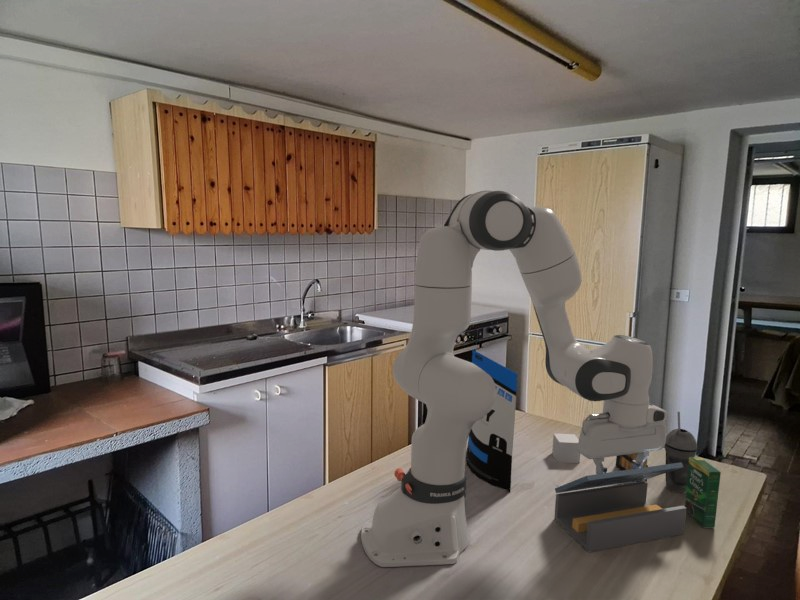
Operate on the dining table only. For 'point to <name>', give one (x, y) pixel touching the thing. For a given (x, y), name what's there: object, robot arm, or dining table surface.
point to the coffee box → (702, 491)
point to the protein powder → (494, 428)
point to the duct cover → (617, 477)
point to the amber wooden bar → (609, 516)
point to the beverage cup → (679, 457)
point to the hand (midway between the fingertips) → (619, 471)
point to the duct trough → (621, 527)
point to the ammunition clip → (627, 462)
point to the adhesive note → (566, 448)
